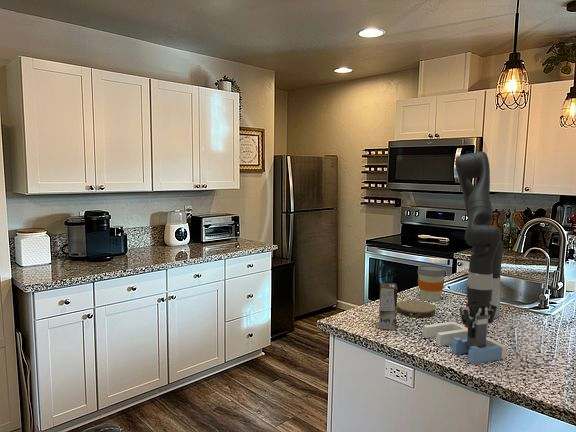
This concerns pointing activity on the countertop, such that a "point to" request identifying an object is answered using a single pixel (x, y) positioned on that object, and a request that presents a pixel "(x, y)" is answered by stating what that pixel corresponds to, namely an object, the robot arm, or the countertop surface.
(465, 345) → the duct comb
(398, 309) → the ringed wooden coaster
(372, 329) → the countertop surface
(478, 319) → the grey trapezoid block
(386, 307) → the coffee box
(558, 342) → the countertop surface
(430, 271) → the reusable coffee cup
